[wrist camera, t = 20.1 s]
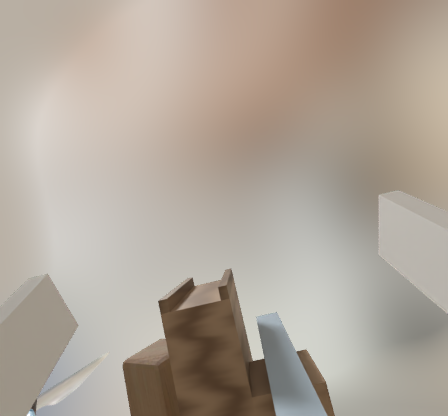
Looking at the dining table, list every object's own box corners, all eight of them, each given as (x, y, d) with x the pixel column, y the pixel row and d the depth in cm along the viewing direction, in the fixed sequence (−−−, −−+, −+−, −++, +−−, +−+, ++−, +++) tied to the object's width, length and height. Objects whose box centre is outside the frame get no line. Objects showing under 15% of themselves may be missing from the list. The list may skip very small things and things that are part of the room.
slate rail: (293, 494, 17) (279, 435, 17) (261, 338, 42) (256, 316, 43) (347, 483, 17) (331, 424, 17) (282, 333, 42) (276, 312, 43)
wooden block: (180, 439, 52) (160, 336, 54) (220, 450, 47) (196, 336, 49) (140, 485, 43) (119, 361, 46) (183, 505, 38) (157, 364, 41)
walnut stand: (220, 624, 25) (158, 300, 29) (228, 475, 41) (186, 278, 45) (382, 594, 25) (295, 269, 29) (326, 455, 41) (276, 258, 45)
